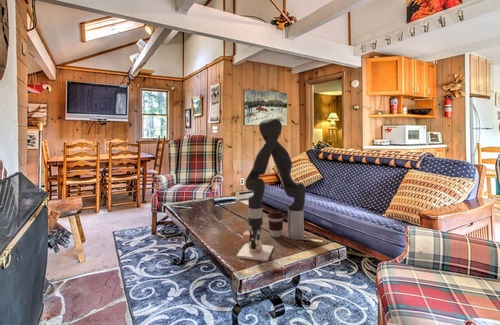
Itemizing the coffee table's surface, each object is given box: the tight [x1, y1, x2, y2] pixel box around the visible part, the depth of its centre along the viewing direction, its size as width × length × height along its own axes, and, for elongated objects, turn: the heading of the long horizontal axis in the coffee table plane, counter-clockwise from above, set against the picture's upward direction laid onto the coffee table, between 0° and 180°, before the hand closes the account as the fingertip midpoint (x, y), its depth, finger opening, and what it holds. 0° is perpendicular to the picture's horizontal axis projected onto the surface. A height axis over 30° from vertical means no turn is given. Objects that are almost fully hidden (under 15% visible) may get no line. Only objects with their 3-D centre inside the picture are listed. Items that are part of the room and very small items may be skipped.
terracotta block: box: [242, 230, 254, 244], centre depth 159 cm, size 5×5×5 cm
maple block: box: [249, 239, 263, 253], centre depth 143 cm, size 6×6×5 cm
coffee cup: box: [267, 209, 285, 238], centre depth 167 cm, size 10×10×15 cm
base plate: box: [236, 243, 274, 262], centre depth 144 cm, size 16×16×1 cm
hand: (255, 245), depth 143 cm, fingers open, 8 cm apart
